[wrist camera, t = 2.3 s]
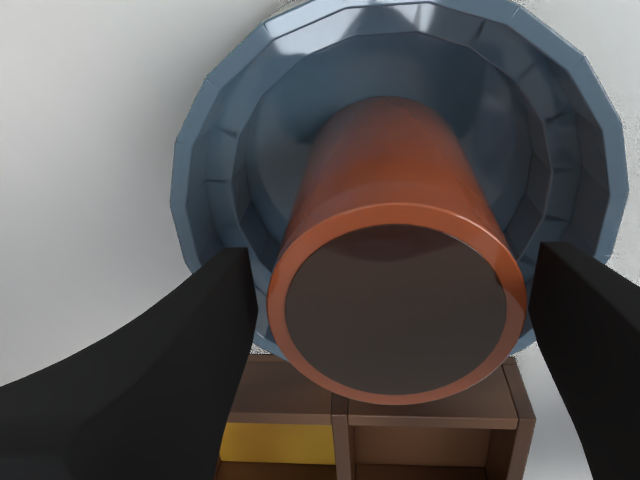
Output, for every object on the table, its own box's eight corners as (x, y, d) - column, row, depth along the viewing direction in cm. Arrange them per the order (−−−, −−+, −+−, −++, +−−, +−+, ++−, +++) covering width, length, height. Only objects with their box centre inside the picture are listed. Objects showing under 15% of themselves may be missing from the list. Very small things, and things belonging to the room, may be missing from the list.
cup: (472, 91, 16) (550, 200, 9) (459, 241, 19) (510, 409, 12) (298, 99, 17) (247, 208, 10) (311, 244, 20) (280, 405, 13)
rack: (515, 356, 22) (537, 419, 19) (494, 467, 27) (510, 533, 24) (183, 353, 24) (157, 410, 21) (214, 457, 28) (196, 518, 25)
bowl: (607, -45, 14) (695, -42, 10) (537, 305, 21) (575, 387, 17) (178, -11, 16) (115, 3, 12) (241, 306, 22) (214, 381, 18)
